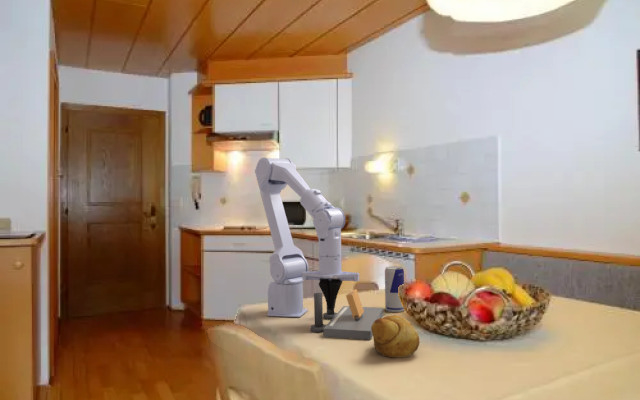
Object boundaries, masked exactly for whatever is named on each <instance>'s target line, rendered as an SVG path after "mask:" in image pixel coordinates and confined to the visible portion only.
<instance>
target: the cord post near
mask: <svg viewBox="0 0 640 400" xmlns="http://www.w3.org/2000/svg"><path fill="white" fill-rule="evenodd" d="M313 305H314V306H313V309H314V310H313V311H314V324H312V325H310V332H312V333H315V334H321V333H322V332H323V333H324V330H323V328H324V327H325V326H326V325H327V324H324V318H323V314H324V312H323V311H324V310H323V292H314V293H313Z"/></svg>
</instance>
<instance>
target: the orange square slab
mask: <svg viewBox="0 0 640 400" xmlns="http://www.w3.org/2000/svg"><path fill="white" fill-rule="evenodd" d="M345 298H346V300H347V303H348V306H350V309H351V312H352V315H353V318H354V319H355V320H358V319H359V318H360V317H361V315H362V314H363V312H364V310H363V307H364V306H363V304H362V301H361V299H360V295H359V293H358V290H357V288H355V289H352V290H350V291H349V292H348V293H347V294H346V295H345Z"/></svg>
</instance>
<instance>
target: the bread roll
mask: <svg viewBox="0 0 640 400" xmlns="http://www.w3.org/2000/svg"><path fill="white" fill-rule="evenodd" d="M371 329H372V333H373V336H372V338H373V346H374V347H375V350H376V351H377V352H378V353H379V354H380V355H383V356H385V357H387V358H395V359H396V358H406V357H410V356H412V355H413V354H414V353H416V351H417V350H418V348H419V346H420V337H419V334H418V331H417V330H416V328H415V327H414V325H412V323H411V322H410V321H409V320H407V319H406V318H404V317H402V316H399V315H395V314H394V315H386V316H383V317H382V318H380V319H377V320H375V321H374V322H373V324H372V327H371Z"/></svg>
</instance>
